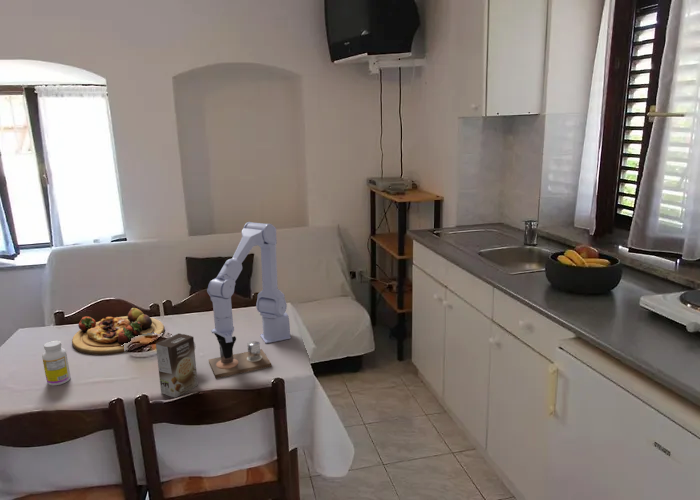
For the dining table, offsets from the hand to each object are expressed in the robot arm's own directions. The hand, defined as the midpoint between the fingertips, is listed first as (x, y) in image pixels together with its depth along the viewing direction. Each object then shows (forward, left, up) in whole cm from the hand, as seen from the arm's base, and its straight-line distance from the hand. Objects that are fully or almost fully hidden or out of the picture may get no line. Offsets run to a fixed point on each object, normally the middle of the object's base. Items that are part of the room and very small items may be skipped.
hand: (226, 354), depth 178 cm
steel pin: (0, 0, -2) cm, 2 cm away
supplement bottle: (+50, -14, -5) cm, 52 cm away
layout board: (-4, 0, -4) cm, 6 cm away
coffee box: (+16, +8, -5) cm, 18 cm away
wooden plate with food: (+32, -43, -5) cm, 54 cm away
